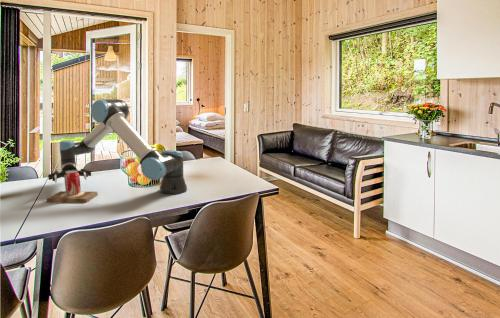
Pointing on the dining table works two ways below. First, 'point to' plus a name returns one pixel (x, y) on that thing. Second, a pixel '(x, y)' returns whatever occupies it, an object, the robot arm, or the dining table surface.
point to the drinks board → (72, 197)
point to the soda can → (72, 182)
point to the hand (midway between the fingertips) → (70, 178)
